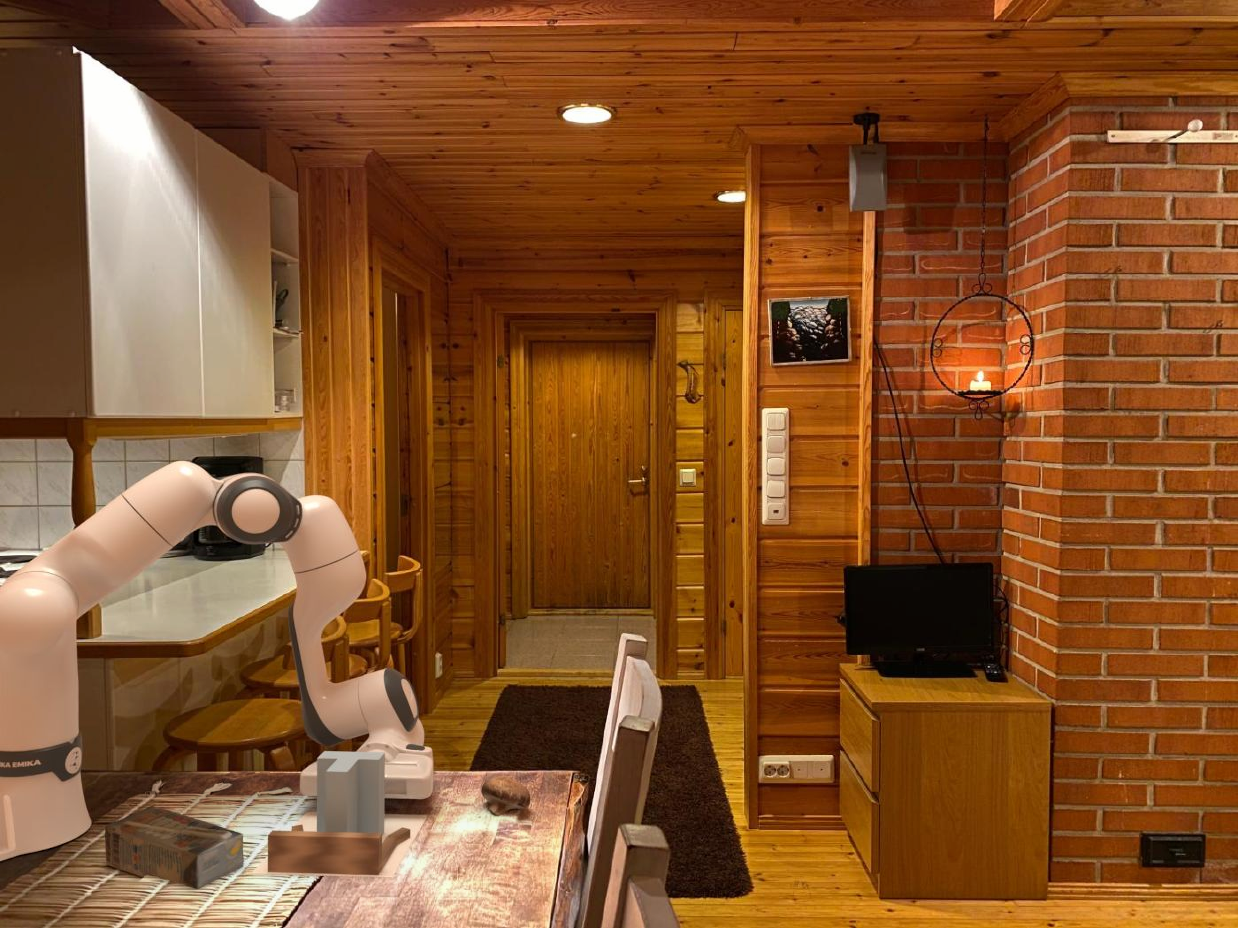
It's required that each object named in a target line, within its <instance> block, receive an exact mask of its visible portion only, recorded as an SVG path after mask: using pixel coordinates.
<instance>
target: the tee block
mask: <svg viewBox="0 0 1238 928" xmlns="http://www.w3.org/2000/svg"><path fill="white" fill-rule="evenodd" d="M316 761H317V796H316V812H317V832H350V833H382V836H383V834H384V814H385V799H386V798H385V753H384V752H357V751H333V750H324V751H323V752H322V753H321V754H320V755H319V756H318V757H317V759H316Z"/></svg>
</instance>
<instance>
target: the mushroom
mask: <svg viewBox="0 0 1238 928" xmlns="http://www.w3.org/2000/svg"><path fill="white" fill-rule="evenodd" d="M480 792H481V794H482V795H481V796H482V797H483V798H484V799H485V800H486V801H488V803H490V806H489V807H488V810H489V811H491V812H492V813H493V814H494V815H495V816H496V817H500V816H502V815H504V814H505V813H506V812H509V811H510V810H514V809H515V810H516V809H517V810H518V811H522V810H527V809H528V808H529V806H530V805H531V794H530V791H529V790H528V788H527V787H526V786H525V784H522V783H521V782H519V781H516V780H515V779H514V780H513V779H512V778H509V777H505V776H493V777H491V778H489V779H487V780H486V781H485V782H484V783H483V784H482V786H481V790H480Z"/></svg>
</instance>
